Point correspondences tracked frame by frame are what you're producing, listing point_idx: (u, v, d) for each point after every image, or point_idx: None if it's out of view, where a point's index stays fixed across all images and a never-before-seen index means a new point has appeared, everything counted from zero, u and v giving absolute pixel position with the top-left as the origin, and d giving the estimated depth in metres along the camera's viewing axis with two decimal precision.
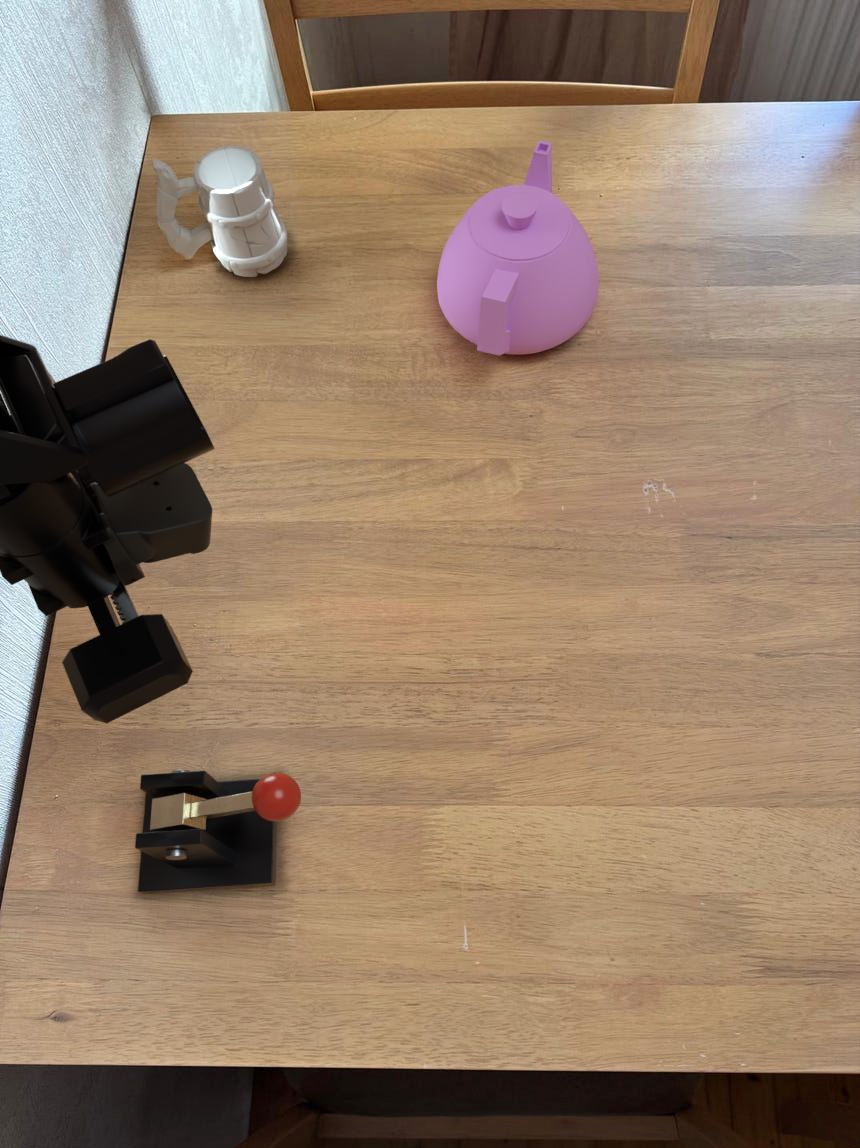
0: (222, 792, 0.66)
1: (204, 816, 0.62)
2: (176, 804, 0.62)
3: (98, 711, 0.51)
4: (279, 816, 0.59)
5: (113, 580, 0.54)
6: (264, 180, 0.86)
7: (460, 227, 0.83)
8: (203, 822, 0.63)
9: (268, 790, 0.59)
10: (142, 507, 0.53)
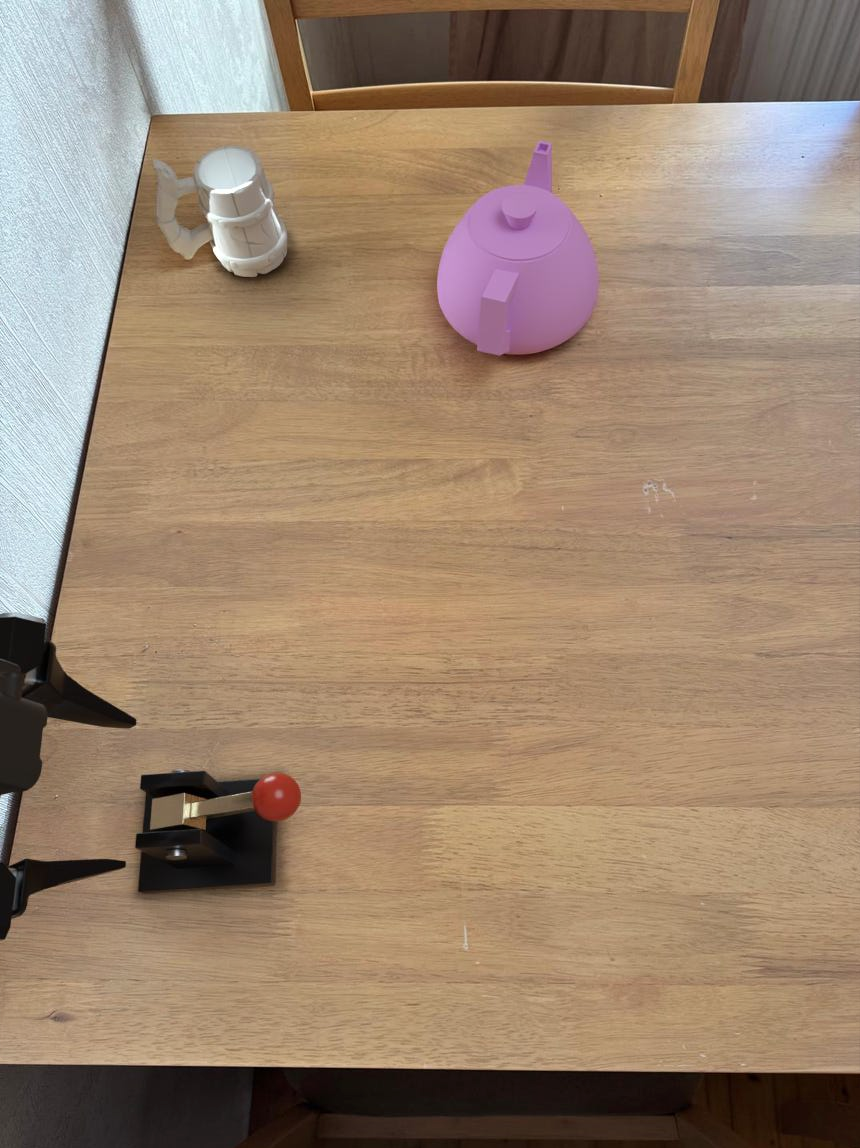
0: (222, 792, 0.66)
1: (204, 816, 0.62)
2: (176, 804, 0.62)
3: None
4: (279, 816, 0.59)
5: None
6: (264, 180, 0.86)
7: (460, 227, 0.83)
8: (203, 822, 0.63)
9: (268, 790, 0.59)
10: None
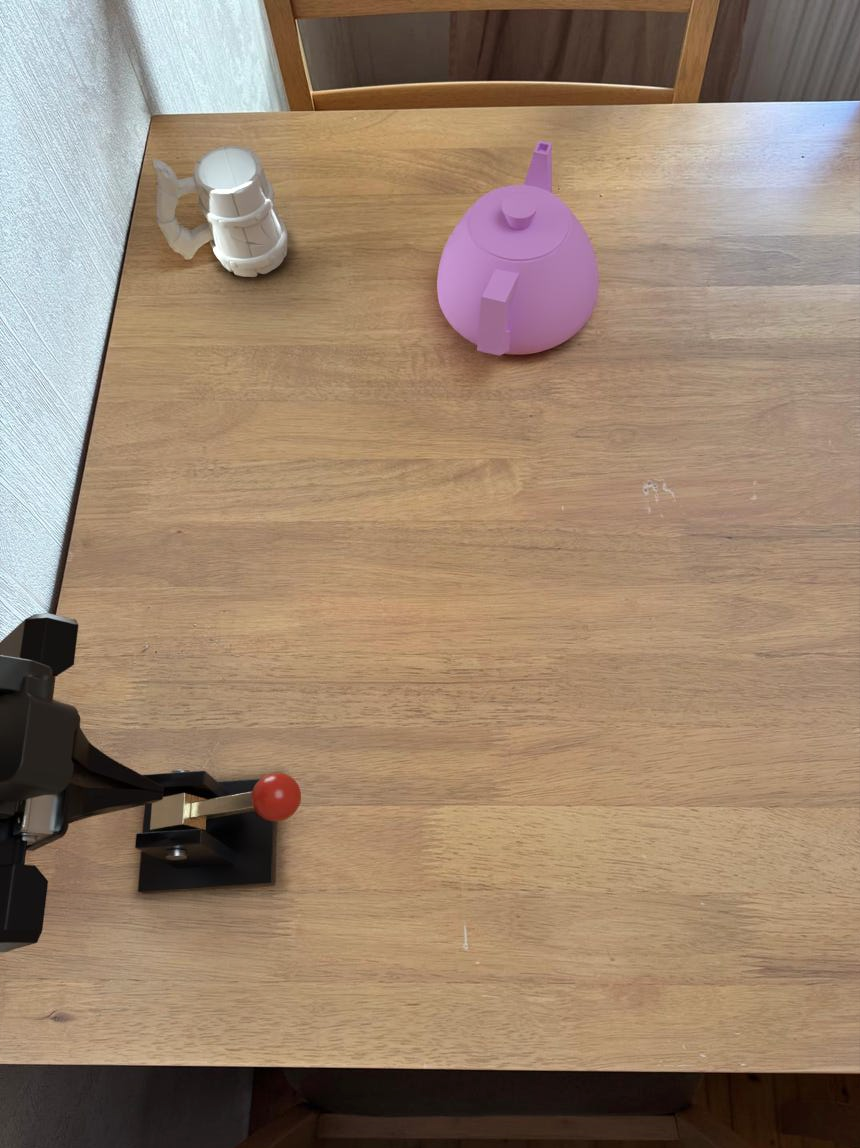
0: (222, 792, 0.66)
1: (204, 816, 0.62)
2: (176, 804, 0.62)
3: None
4: (279, 816, 0.59)
5: None
6: (264, 180, 0.86)
7: (460, 227, 0.83)
8: (203, 822, 0.63)
9: (268, 790, 0.59)
10: None
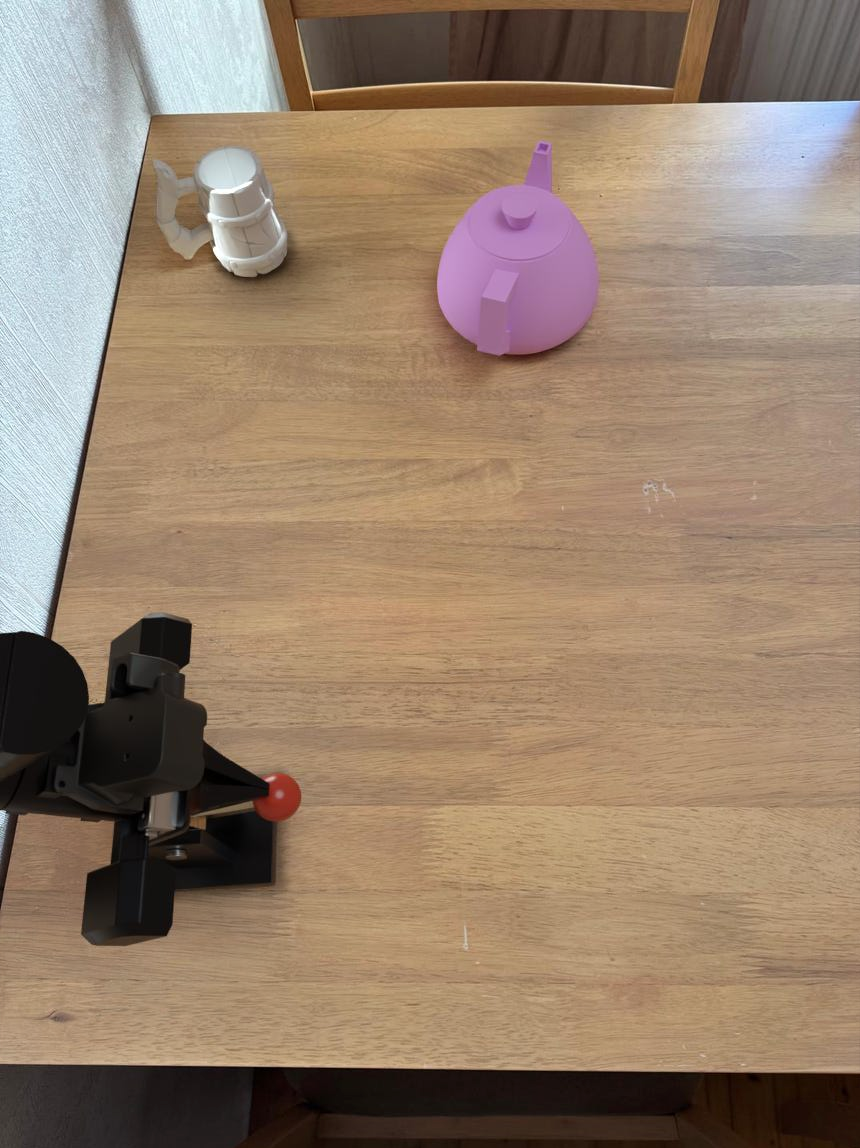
0: None
1: (204, 816, 0.62)
2: None
3: None
4: (280, 816, 0.59)
5: None
6: (264, 180, 0.86)
7: (460, 227, 0.83)
8: (203, 822, 0.63)
9: (269, 790, 0.59)
10: (108, 751, 0.47)
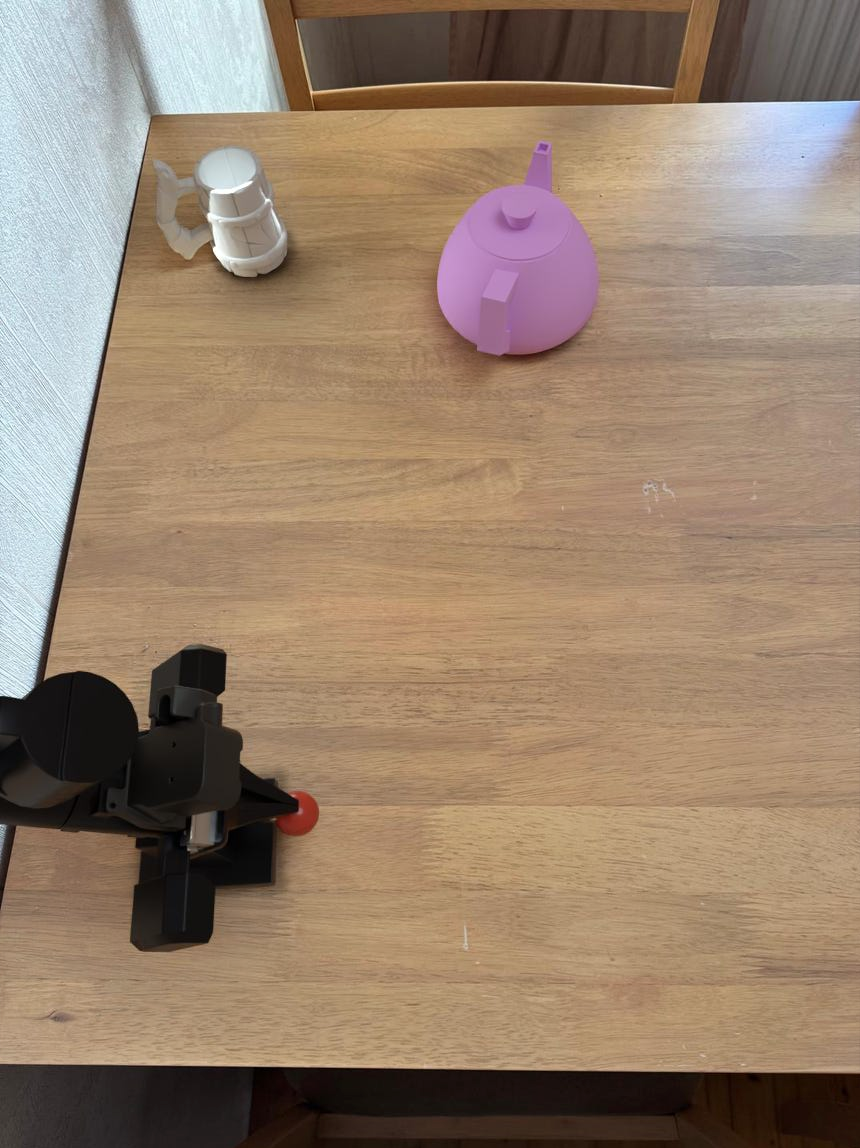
0: None
1: None
2: None
3: (142, 951, 0.56)
4: (305, 832, 0.65)
5: None
6: (264, 180, 0.86)
7: (460, 227, 0.83)
8: None
9: (304, 807, 0.64)
10: (154, 775, 0.52)
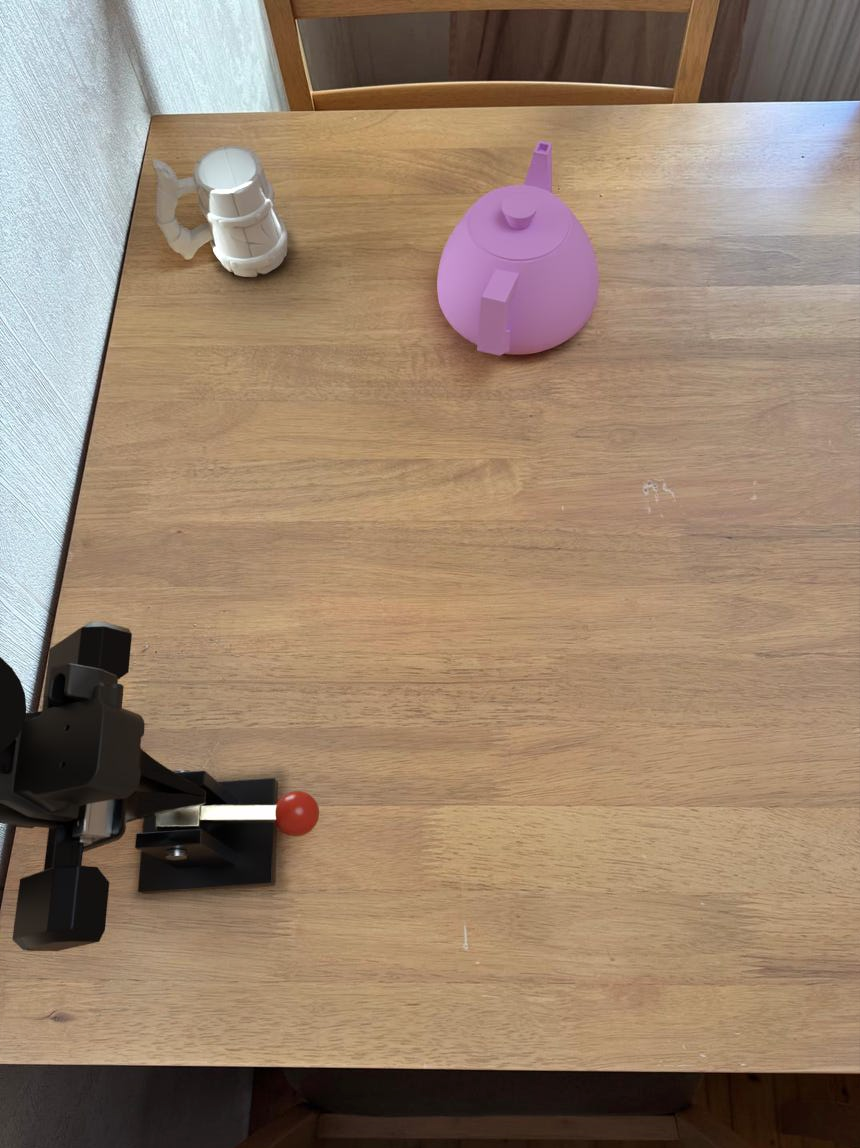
0: (222, 792, 0.66)
1: (214, 821, 0.63)
2: None
3: None
4: (305, 832, 0.65)
5: None
6: (264, 180, 0.86)
7: (460, 227, 0.83)
8: None
9: (304, 807, 0.64)
10: (44, 759, 0.48)
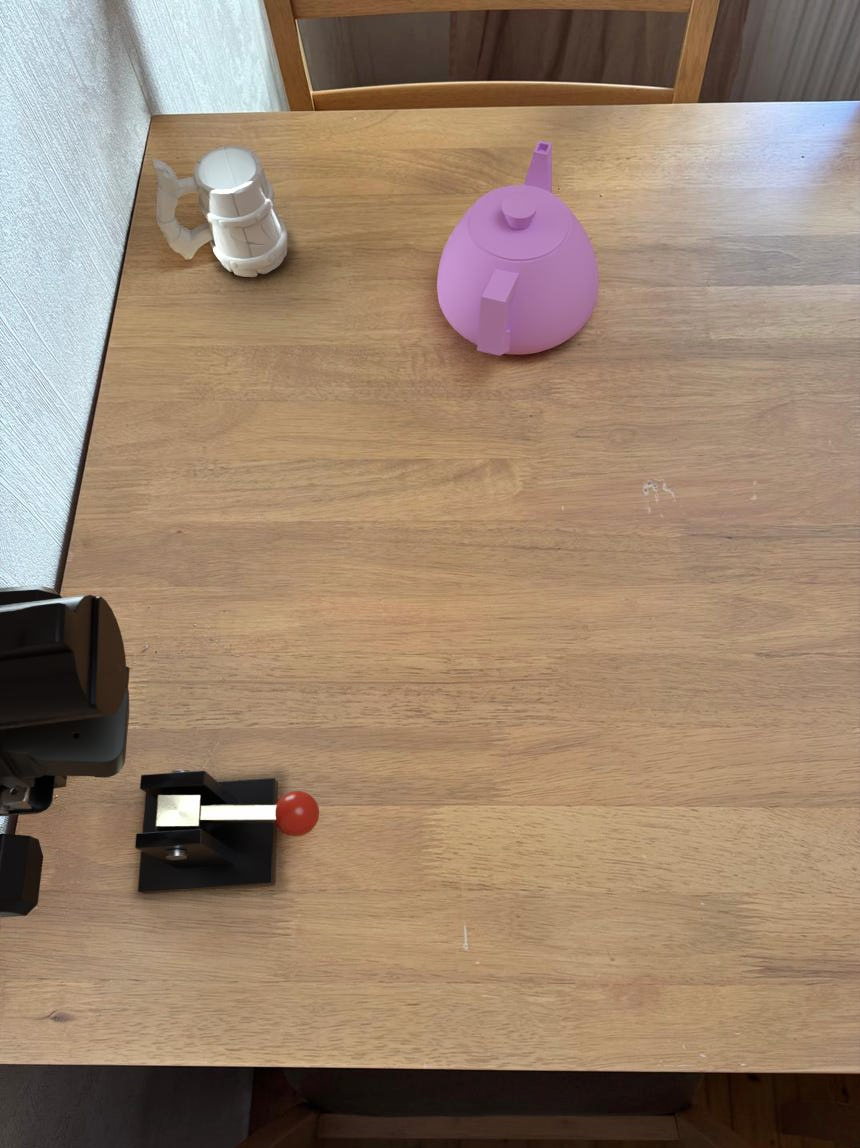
0: (222, 792, 0.66)
1: (214, 821, 0.63)
2: (189, 805, 0.63)
3: None
4: (305, 832, 0.65)
5: None
6: (264, 180, 0.86)
7: (460, 227, 0.83)
8: None
9: (304, 807, 0.64)
10: (49, 725, 0.48)
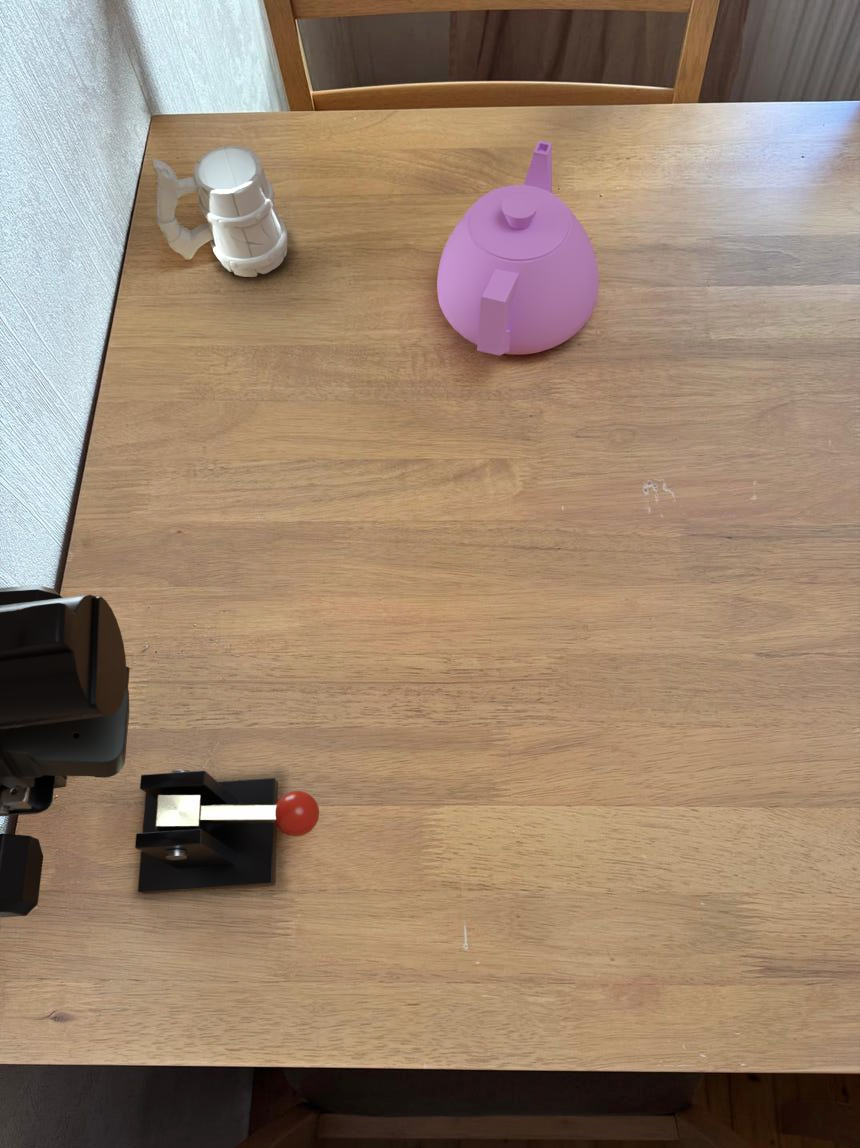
0: (222, 792, 0.66)
1: (214, 821, 0.63)
2: (189, 805, 0.63)
3: None
4: (305, 832, 0.65)
5: None
6: (264, 180, 0.86)
7: (460, 227, 0.83)
8: None
9: (304, 807, 0.64)
10: (49, 725, 0.48)
